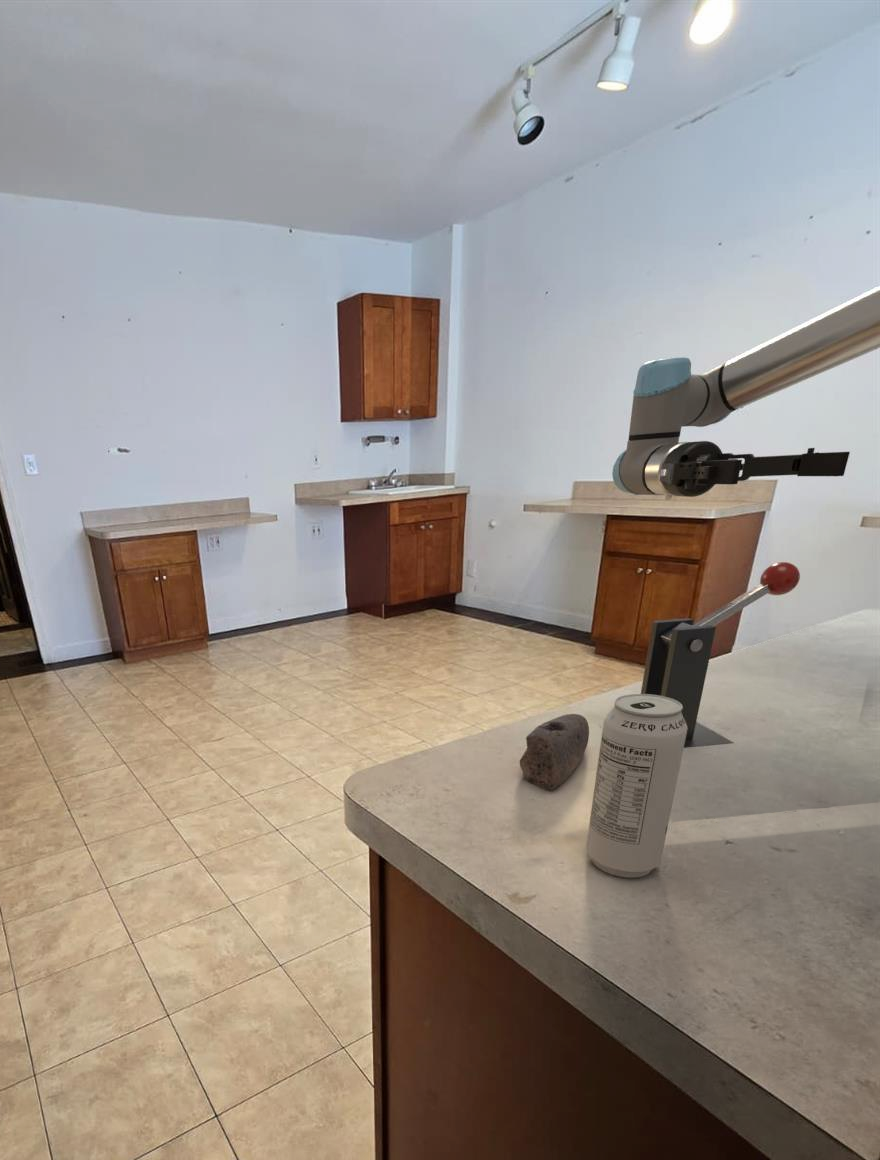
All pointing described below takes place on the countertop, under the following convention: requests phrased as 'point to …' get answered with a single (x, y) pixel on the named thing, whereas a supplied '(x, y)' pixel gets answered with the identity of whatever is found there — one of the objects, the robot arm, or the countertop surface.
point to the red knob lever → (750, 595)
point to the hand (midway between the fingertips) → (790, 468)
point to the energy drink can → (635, 783)
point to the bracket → (681, 673)
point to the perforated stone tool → (554, 750)
